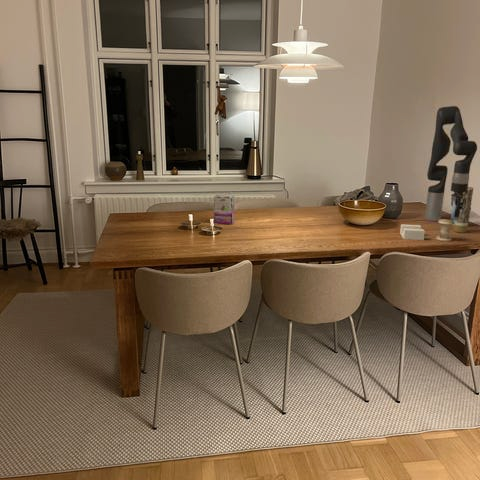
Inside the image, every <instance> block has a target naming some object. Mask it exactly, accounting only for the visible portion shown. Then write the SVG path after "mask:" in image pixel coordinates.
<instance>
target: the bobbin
mask: <svg viewBox="0 0 480 480" xmlns="http://www.w3.org/2000/svg"><path fill="white" fill-rule="evenodd" d="M437 222H438V223H439V224H440V231H439V235H437V236H436V237H435V239H436V240H437V241H440V242H451V241H452V240H453V237H451V236H450V232H451V231H450V230H451V226H454V225H453V224H454V220H452V219H445V218H443V219H442V218H441V219H440V220H439V221H437Z"/></svg>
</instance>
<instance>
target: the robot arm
mask: <svg viewBox="0 0 480 480" xmlns="http://www.w3.org/2000/svg"><path fill="white" fill-rule="evenodd" d="M461 113H462V112H461V111H460V108H459V107H458V106H457V105H450V106H441V107H439V108H438V109H437V112H436V119H435V131H434V137H433V141H432V146H431V156H430V161H429V166H428V170H427V174H426V175H427V179H428V181H437V182H438V183H437V184H434V185H430V186H429V187H428V189H427V198H426V204H425V205H426V206H425V212H424V220H426V221H431V222H438V221H439V220H440V219H442V213H443V212H442V211H443V205H444V196H445V189H446V182H447V178H448V171H449V169H448V167H447V165H441V164H440V165H438V163H439V162H441V161H442V160H443V159H444V158H445V157H446V156H448V154H449V153H450V148H451V142H452V143H453V144H452V145H453V146H452V153H453V154H455V155H456V156H463V157H464V156H465V157H464V158H463V159H460V160H455V163H454V167H453V174H452V178H451V185H450V191H451V192H453V193H452V194H451V201H450V202H451V203H450V205H451V207H452V208H453V201H455V202H454V204H455V213H454V217H459V214H460V210H461V209H462V208H463V204H464V201H465V199H463V193H464V192H467V189H468V187H469V182H470V170H471V165H472V162H473V159H474V157H475V156H476V154H477V153H476V152H477V150H478V145H477V142H476V141H474V140H469V136H468V134H467V132H466V129H465V127H464V122H463V121H464V120H463V116H462V114H461ZM446 125H453V126H452V127H451V129H450V131H449V134H450V135H448V134H447V133H446V132H445V129H444V126H446ZM449 136H450V137H449ZM450 138H451V139H450ZM456 202H457V203H456ZM452 208H451V209H452Z"/></svg>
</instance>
